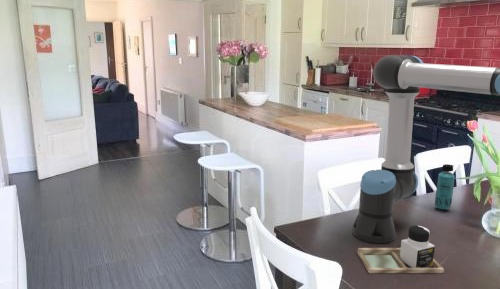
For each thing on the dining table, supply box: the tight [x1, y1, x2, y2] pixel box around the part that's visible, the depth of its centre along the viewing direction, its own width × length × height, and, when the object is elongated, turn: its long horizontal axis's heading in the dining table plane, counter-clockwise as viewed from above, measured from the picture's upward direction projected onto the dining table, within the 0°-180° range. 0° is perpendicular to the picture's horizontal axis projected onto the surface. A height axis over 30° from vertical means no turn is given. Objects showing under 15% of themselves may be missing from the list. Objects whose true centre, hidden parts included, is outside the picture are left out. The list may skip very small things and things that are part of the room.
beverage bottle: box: [434, 163, 456, 210], centre depth 168 cm, size 6×7×20 cm
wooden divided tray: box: [357, 247, 445, 274], centre depth 127 cm, size 23×12×2 cm, turn 91°
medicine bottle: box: [399, 225, 436, 268], centre depth 126 cm, size 7×7×12 cm
